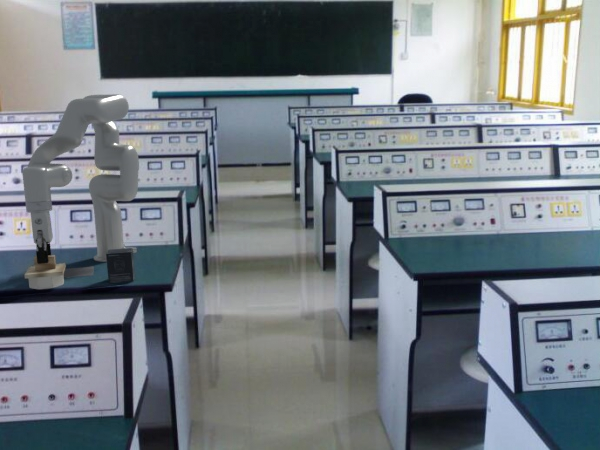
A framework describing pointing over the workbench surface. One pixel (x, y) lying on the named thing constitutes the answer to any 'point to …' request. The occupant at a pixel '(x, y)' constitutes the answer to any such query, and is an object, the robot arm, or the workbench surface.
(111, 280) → the box
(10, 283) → the workbench surface
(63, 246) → the workbench surface
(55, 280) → the bowl
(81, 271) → the mat
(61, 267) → the beige plate with ridge
